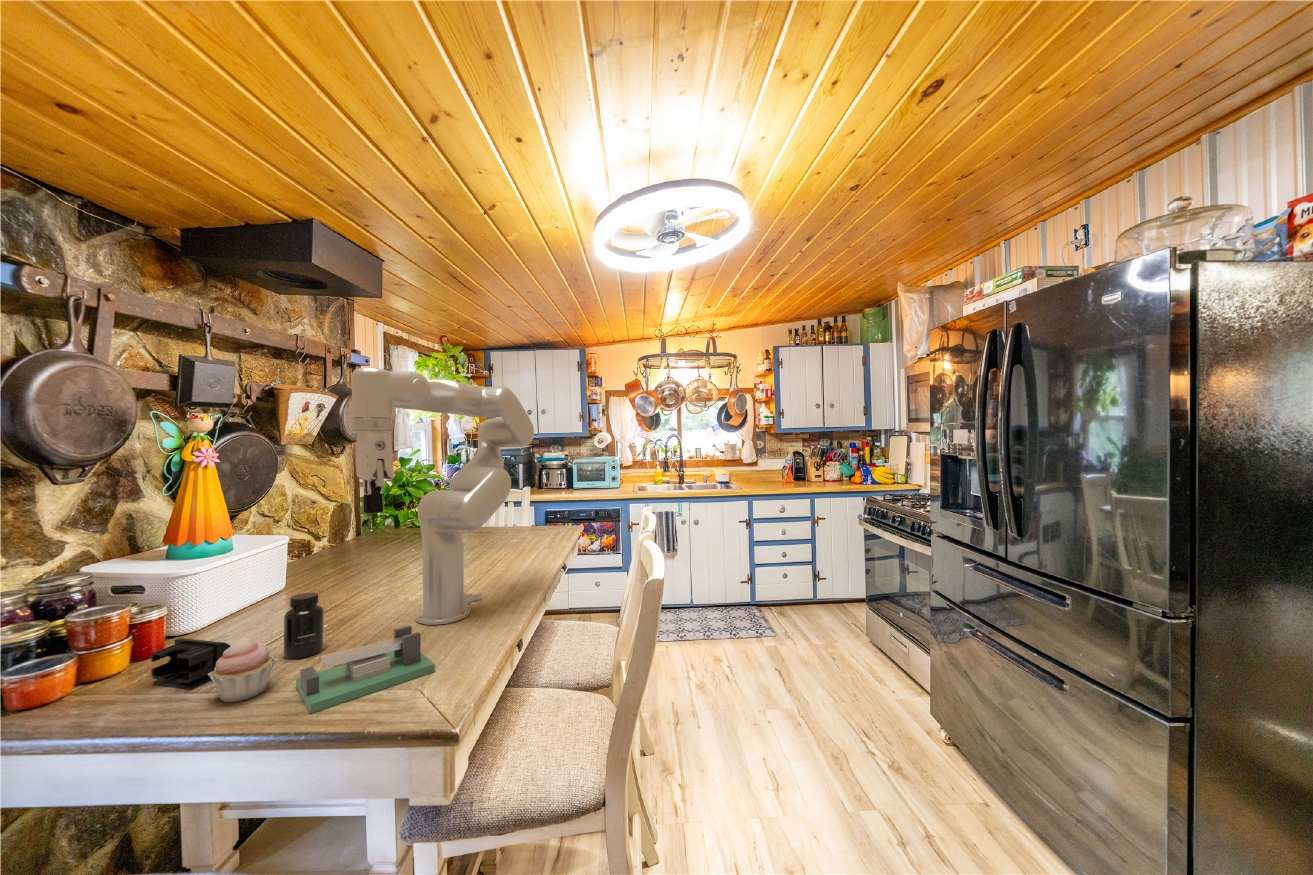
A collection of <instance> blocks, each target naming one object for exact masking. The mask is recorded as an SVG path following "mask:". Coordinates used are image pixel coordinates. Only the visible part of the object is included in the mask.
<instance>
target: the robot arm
mask: <svg viewBox="0 0 1313 875" xmlns="http://www.w3.org/2000/svg"><path fill="white" fill-rule="evenodd" d="M394 408H395V409H402V410H403V409H404V410H414V411H415V410H416V411H421V412H429V413H436V414H437V413H439V414H449V415H457V416H463V417H464V416H465V417H470V418H471V417H472V418H479V419H480V418H481V419H482V418H488V419H485V420H484V421H482V422H481V424H480V425H479V427H478V429H477V451H476V454H475V455H474V456H473V457H472V458H471V459H470V460H468V462H466V463H465V465H464V466H462V468H460V469H459V470H458V471H457V472H456V473H455V474H454V475H453V477H452V478H451V480H450V483H449V489H448V490H447V489H439V490H433V491H429V492H428V493H426V494H424V495H423V496H422V497H421V498H420V500H419V503H418V506H417V518H418V522H419V527H420V533H421V540H422V541H421V542H422V543H421V546H422V609H421V610H419V611H418V612H417V613H416V614H415V621H416V622H417V623H419V624H422V625H427V626H436V625H447V624H451V623H455V622H458V621H460V620H463V619H465V618H467V617H468V616H469V615H470V614H471V607H470V605H472V603H478V602H482V601H483V599H484V598H483V594H482V593H477V594H474V593H467V594H466V593H465V591H464V590H465V587H464V586H465V584H464V582H465V581H464V580H465V579H464V578H465V577H464V576H465V574H464V573H465V572H464V568H465V567H464V565H465V564H464V563H465V562H464V558H465V557H464V556H465V554H464V553H465V552H464V550H465V549H464V540H463V536H462V534H461V532H460V531H463V532H465V531H467V532H469V531H476V530H478V529H480V528H481V527H483V526H485V524H486V523H487V522H488V521H489V520H490V519H491V518H492V516H493V515H494V514H495V513H496V512H497V511H498V510H499V508H500V507H501V506H502V505H503V504H504V502H505V501H506V500H507V498H508V497H509V494H510V492H511V489H512V478H511V476H510V474H509V472H508V471H507V470H506V469H504V466H505V464H504V463H505V462H504V458H503V456H502V451H501V450H502V449H501V448H524V447H527V446H528V445H530V444H531V443H532V441H533V440H534V437H535V428H534V425H533V422H532V420H531V418H530V416H529V414H528V413H527V412H526V409H525V407H524V406H523V404H522V403H521V401H520V400H519V398H518V396H516V394H515V393H514V392H513V391H512V390H511V389H510V388H509V387H506V386H502V385H501V386H498V385H497V386H479V385H475V384H470V383H465V382H461V381H456V380H451V379H427V378H426V377H425V376H424V375H422V373H419V372H415V371H393V370H392V371H390V370H386V369H385V368H383V369H382V368H375V367H359V368H356V369H354V371H353V372H352V374H351V409H352V410H351V418H352V420H351V422H352V423H351V428H352V429H351V430H352V431H351V432H352V433H351V434H356V442H355V443H356V446H355V448H356V449H355V471H356V473H355V474H356V476H357V478H359V479H360V480H362V485H363V512H364V514H367V515H369V514H379V513H382V512H383V511H384V510H383V509H384V508H383V504H384V503H383V502H384V501H383V500H384V499H383V496H384V495H383V493H384V487H385V480H392V479H393V478H394V475H395V472H394V470H395V469H394V456H393V455H394V451H393V444H392V435H391V434H393V433H394V430H393V426H394V425H393V422H394V419H393V418H394V417H393V415H394V414H393V413H394V412H393V410H394Z"/></svg>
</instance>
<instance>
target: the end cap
mask: <svg viewBox="0 0 1313 875" xmlns="http://www.w3.org/2000/svg"><path fill="white" fill-rule="evenodd" d="M231 646H232V645H230V644H229V643H227V642H223V641H212V640H211V641H210V640H206V639H205V640H203V639H194V638H184V637H183V638H182V637H181V638H177V639H174V644H173V645H169V646H167V647H164V648H162V649H159V650H157V651H154V652H152V653H151V655H150V656H151V662H152V663H153V662H157V661H160V660H163V659H164V658H168V657H169V660H168V661H167V662H166V663H162V664H160V665H158V666H155V667H153V668H151V670H150V671H151V672H150V673H151V678H152V679H154V681H153V682H152V683H153V686H156V685H157V686H159V687H166V688H173V689H180V690H181V689H182V690H188V691H189V690H194V689H196V688H199V687H201V686H203V685H205V684H207V683H210V682H211V681H212V680H211V678H210V677H209V675H208V674H209V673H211V672H213V671H215V670H214V668H216V662H217V661H218V660H219V659H220V658H221V657H222V656H223V652H224V651H225V650H227V649H228V648H230V647H231ZM212 682H213V681H212Z"/></svg>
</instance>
